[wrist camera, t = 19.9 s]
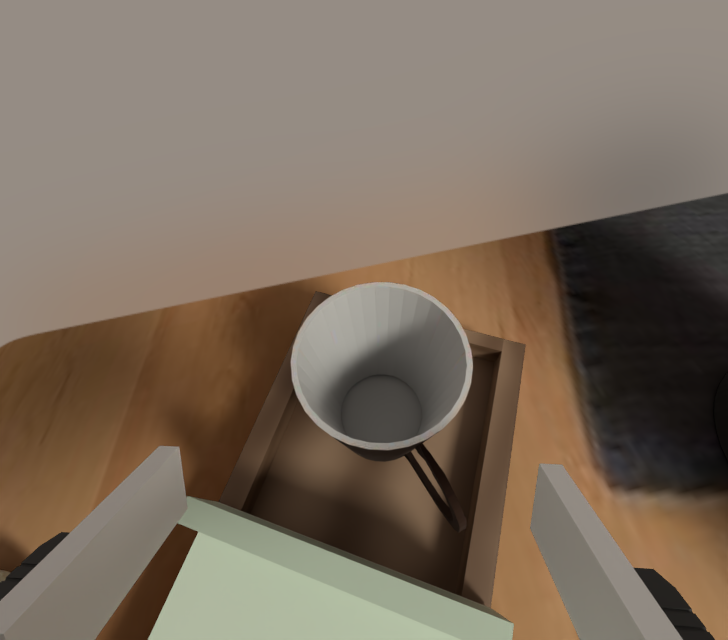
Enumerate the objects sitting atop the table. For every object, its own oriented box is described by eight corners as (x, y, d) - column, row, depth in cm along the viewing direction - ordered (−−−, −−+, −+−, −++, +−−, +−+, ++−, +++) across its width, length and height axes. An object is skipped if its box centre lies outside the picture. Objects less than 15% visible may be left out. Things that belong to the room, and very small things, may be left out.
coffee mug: (323, 359, 29) (298, 284, 20) (436, 357, 29) (460, 279, 20) (314, 533, 23) (273, 532, 15) (455, 533, 23) (500, 531, 14)
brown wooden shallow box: (509, 366, 30) (525, 344, 27) (415, 980, 16) (425, 1100, 13) (322, 316, 33) (315, 291, 30) (113, 799, 19) (54, 857, 16)
